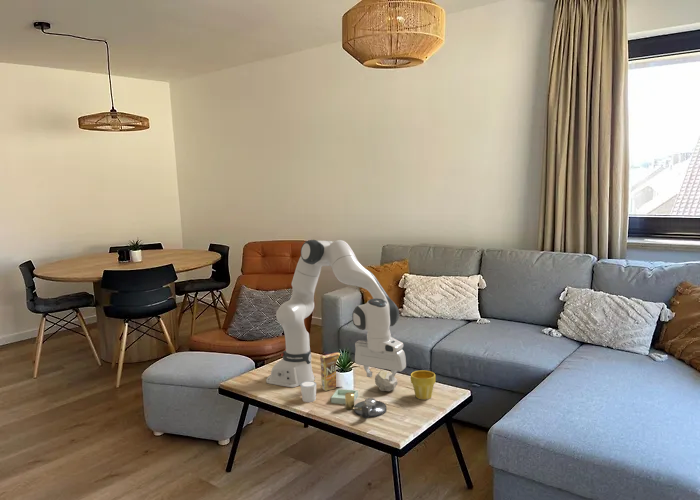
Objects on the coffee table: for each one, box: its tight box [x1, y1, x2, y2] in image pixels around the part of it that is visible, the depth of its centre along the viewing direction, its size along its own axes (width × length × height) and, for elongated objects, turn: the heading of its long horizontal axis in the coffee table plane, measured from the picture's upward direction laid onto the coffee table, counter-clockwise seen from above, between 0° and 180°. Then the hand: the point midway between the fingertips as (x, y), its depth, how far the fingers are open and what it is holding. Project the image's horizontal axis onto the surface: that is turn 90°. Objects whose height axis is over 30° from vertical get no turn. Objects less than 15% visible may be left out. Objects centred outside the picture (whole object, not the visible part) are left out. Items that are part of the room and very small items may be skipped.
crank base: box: [353, 400, 388, 418], centre depth 211 cm, size 13×13×1 cm
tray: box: [330, 388, 359, 405], centre depth 222 cm, size 9×9×2 cm
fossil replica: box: [374, 369, 398, 392], centre depth 231 cm, size 12×8×10 cm
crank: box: [361, 397, 377, 419], centre depth 206 cm, size 12×4×4 cm, turn 166°
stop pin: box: [344, 392, 355, 411], centre depth 213 cm, size 4×4×6 cm
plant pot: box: [410, 369, 437, 401], centre depth 221 cm, size 10×10×10 cm
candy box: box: [320, 351, 341, 392], centre depth 234 cm, size 9×4×15 cm, turn 120°
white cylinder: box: [299, 381, 317, 403], centre depth 223 cm, size 7×7×7 cm
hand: (380, 378), depth 196 cm, fingers open, 8 cm apart
